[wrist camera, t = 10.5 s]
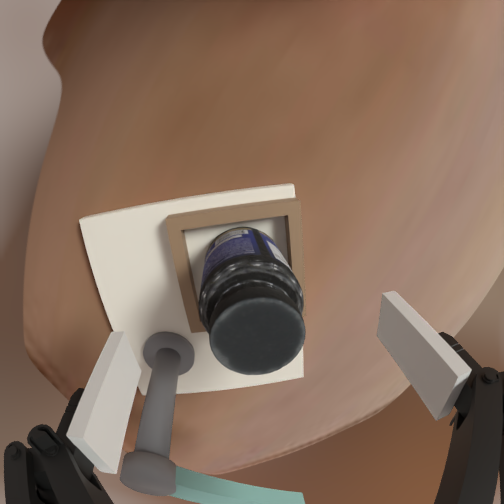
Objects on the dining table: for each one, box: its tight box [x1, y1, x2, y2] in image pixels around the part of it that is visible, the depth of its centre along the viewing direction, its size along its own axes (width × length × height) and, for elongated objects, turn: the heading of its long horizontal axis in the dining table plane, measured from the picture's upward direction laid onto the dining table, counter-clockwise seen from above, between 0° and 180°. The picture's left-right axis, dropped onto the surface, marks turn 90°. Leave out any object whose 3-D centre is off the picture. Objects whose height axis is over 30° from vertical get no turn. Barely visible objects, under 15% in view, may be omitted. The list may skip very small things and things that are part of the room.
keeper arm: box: [120, 451, 305, 504], centre depth 15 cm, size 15×4×2 cm, turn 51°
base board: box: [79, 183, 306, 459], centre depth 20 cm, size 20×18×14 cm
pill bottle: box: [198, 227, 305, 375], centre depth 19 cm, size 6×6×11 cm
